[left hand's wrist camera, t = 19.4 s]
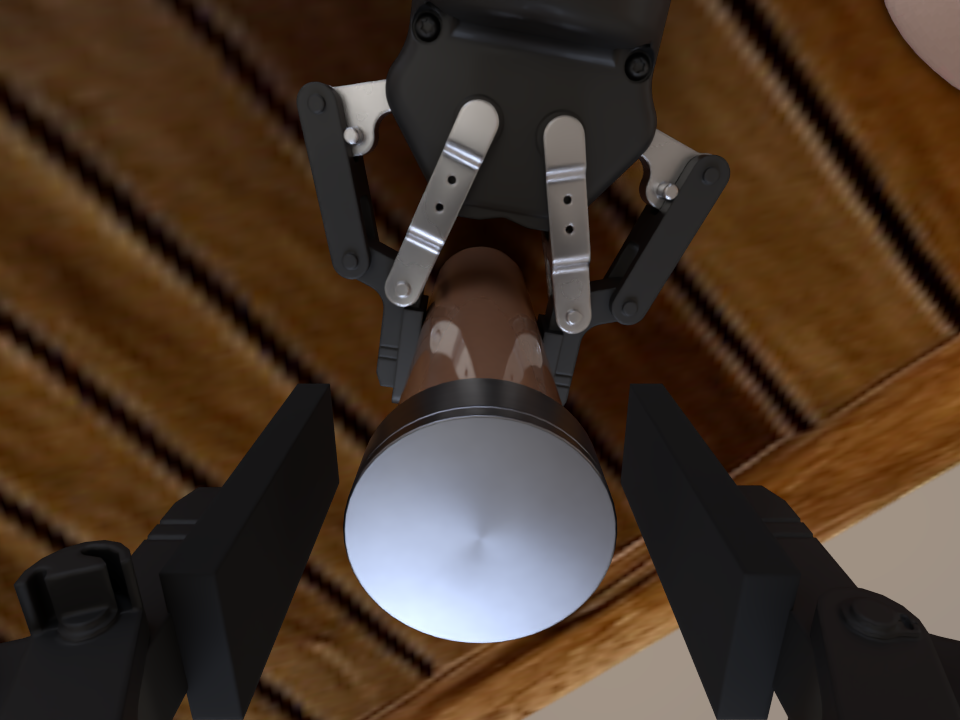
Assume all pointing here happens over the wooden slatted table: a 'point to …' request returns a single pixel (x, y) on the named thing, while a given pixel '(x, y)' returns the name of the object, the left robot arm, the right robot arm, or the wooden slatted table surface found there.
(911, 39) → the anatomical model
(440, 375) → the pinkish brown cylinder
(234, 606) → the left robot arm
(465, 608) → the lid
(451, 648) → the wooden slatted table surface
